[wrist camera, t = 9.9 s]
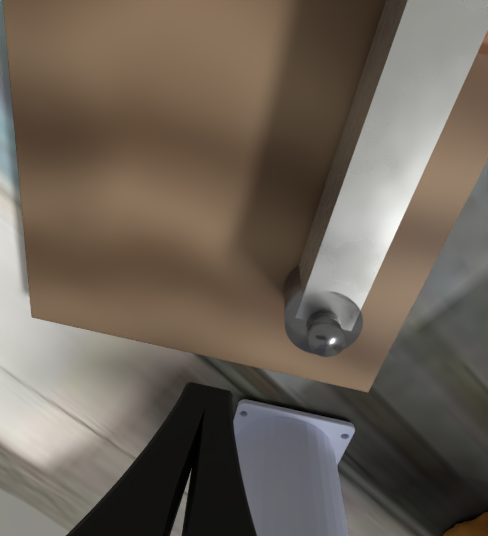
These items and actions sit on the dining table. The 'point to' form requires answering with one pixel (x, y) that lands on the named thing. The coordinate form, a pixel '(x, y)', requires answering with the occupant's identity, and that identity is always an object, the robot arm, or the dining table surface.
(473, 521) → the coffee package
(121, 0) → the brown wooden board
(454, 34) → the bar
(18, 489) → the dining table surface
